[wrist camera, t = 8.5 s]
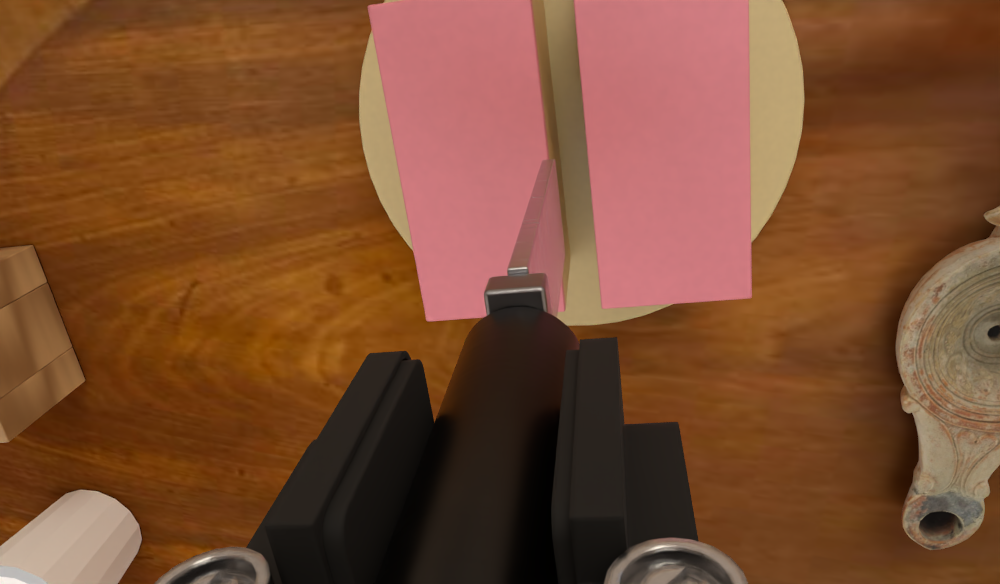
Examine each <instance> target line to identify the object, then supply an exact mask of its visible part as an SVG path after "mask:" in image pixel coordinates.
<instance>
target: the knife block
mask: <svg viewBox="0 0 1000 584" xmlns="http://www.w3.org/2000/svg"><path fill="white" fill-rule="evenodd" d="M46 282H47V280H46V277H45V275H44V272H43V270H42V267H41V264H40V262H39V259H38V257H37V254H36V251H35V249H34V246H33V245H26V246H16V247H6V248H0V443H3V442H9V441H11V440H12V439H13V438H14V437H16V436H17V435H18V434H19V433H21V432H22V431H23V430H24V429H26V428H27V427H28V426H29V425H31V424H32V423H33V422H34V421H36V420H37V419H38V418H39V417H41V416H42V415H43V414H44V413H46V412H47V411H48V410H49V409H51V408H52V407H53V406H54V405H56V404H57V403H58V402H59V401H61V400H62V399H63V398H64V397H66V396H67V395H68V394H69V393H71V392H72V391H73V390H74V389H76V388H77V387H78V386H79V385H81V384H82V383H83V382H84V381H85V378H84V375H83V373H82V370H81V368H80V365H79V362H78V360H77V357H76V355H75V352H74V349H73V348H71V347H72V344H71V342H70V339H69V337H68V334H67V331H66V329H65V326H64V324H63V321H62V319H61V316H60V313H59V311H58V308H57V306H56V303H55V300H54V298H53V295H52V293H51V290H50V288H49V285H48V283H46Z"/></svg>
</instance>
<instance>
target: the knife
mask: <svg viewBox="0 0 1000 584" xmlns="http://www.w3.org/2000/svg"><path fill="white" fill-rule="evenodd" d="M564 261H565V246H564V237H563V227H562V218H561V208H560V199H559V189H558V180H557V170H556V161H555V159H549V160H543V161H542V163H541V166H540V169H539V172H538V175H537V178H536V182H535V185H534V188H533V191H532V194H531V197H530V200H529V203H528V206H527V209H526V213H525V216H524V219H523V222H522V225H521V228H520V231H519V234H518V237H517V241H516V244H515V247H514V250H513V253H512V256H511V259H510V262H509V265H508V268H507V274H508V276H496V277H491V278H489V281H488V283H487V286H486V289H485V292H484V301H485V307H486V314H487V316H486V317H484V318H483V319H482V320H480V321H479V322H478V323H477V324H476V325H475V326H474V327H473V328H472V330H471V331H470V332H469V334H468V336H467V338H466V340H465V343H464V346H463V348H462V351H461V354H460V356H459V359H458V362H457V364H456V367H455V370H454V372H453V375H452V378H451V380H450V383H449V386H448V388H447V391H446V394H445V396H444V399H443V402H442V404H441V407H440V410H439V412H438V415H437V418H436V420H435V423H434V426H433V428H432V431H431V434H430V436H429V439H428V442H427V444H426V447H425V450H424V452H423V455H422V458H421V461H420V463H419V466H418V469H417V471H416V474H415V477H414V479H413V482H412V485H411V487H410V490H409V493H408V495H407V498H406V501H405V503H404V506H403V509H402V511H401V514H400V517H399V519H398V522H397V525H396V527H395V530H394V533H393V535H392V538H391V541H390V543H389V546H388V549H387V551H386V554H385V557H384V559H383V562H382V565H381V567H380V570H379V573H378V575H377V578H376V581H375V583H374V584H558V578H557V570H556V563H555V555H554V548H553V539H552V523H551V505H552V492H553V482H554V471H555V461H556V450H557V440H558V429H559V419H560V408H561V398H562V387H563V377H564V366H565V356H566V350H579V345H580V344H579V342H578V340H577V338H576V336H575V335H574V333H573V332H572V331H571V330H570V329H569V327H568V326H567V325H565V324H564V323H563V322H562V321H561V320H559V319H558V318H557V315H558V307H559V299H560V291H561V284H562V276H563V268H564Z"/></svg>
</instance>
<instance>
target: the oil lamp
mask: <svg viewBox="0 0 1000 584" xmlns="http://www.w3.org/2000/svg"><path fill="white" fill-rule="evenodd" d="M984 217H985V219H986V220H987V221H988V222H990V223H992V224H994V225H996V227H995V228H994V230H993V232H992V233H991V235H990V237H988V238H987V239H984V240H979V241H976V242H972V243H969V244H967V245H965V246H963V247H961V248H958V249H956V250H955V251H953V252H951V253H950V254H948V255H947V256H945V257H944V258H943V259H941V260H940V261H939V262H937V263H936V264H935V265H934V266H933V267H932V268H931V269H930V270H929V271H928V272H927V273H926V274H925V275H924V276H923V277H922V278H921V279H920V281H919V282H918V283H917V284H916V286H915V287H914V288H913V290H912V292H911V293H910V295H909V297H908V299H907V301H906V303H905V305H904V308H903V310H902V313H901V316H900V320H899V323H898V330H897V338H896V348H895V349H896V359H897V365H898V369H899V373H900V375H901V378H902V381H903V383H904V386H903V388H902V390H901V393H900V399H901V404H902V408H903V410H904V411H905V412H907V413H912V414H913V416H914V420H915V424H916V428H917V433H918V443H919V461H918V463H917V465H916V467H915V469H914V472H913V482H912V485H911V487H910V489H909V492H908V494H907V497H906V499H905V502H904V505H903V509H902V515H901V519H902V526H903V528H904V530H905V532H906V533H907V535H908V536H909V537H910V538H911V539H912V540H913V541H915V542H917V543H918V544H920V545H921V546H923V547H924V548H927V549H929V550H936V549H944V548H947V547H951V546H953V545H956V544H958V543H960V542H962V541H964V540H966V539H968V538H969V537H970V536H971V535H972V534H973V533H974V532H975V531H976V530H977V529H978V528H979V526H980V525H981V523H982V521H983V517H984V511H985V506H984V498H985V497H987V496H988V495H989V493H990V488H989V484H988V481H987V480H988V479H989V477H990V476H991V474H992V473H993V472H994V471H995V469H996V468H997V467H998V466H999V465H1000V206H998V207H997V208H995V209H993V210H991V211H987V212H986V213H984Z"/></svg>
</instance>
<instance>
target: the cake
mask: <svg viewBox="0 0 1000 584" xmlns="http://www.w3.org/2000/svg"><path fill="white" fill-rule="evenodd" d="M368 12H369V17H370V23H371V28H372V31H371V34H370V36H369V40H368V44H367V48H366V52H365V57H364V61H363V65H362V73H361V81H360V90H359V123H360V130H361V137H362V145H363V151H364V155H365V158H366V162H367V166H368V170H369V173H370V177H371V179H372V182H373V184H374V187H375V189H376V192H377V194H378V197H379V199H380V202H381V203H382V205H383V207H384V209H385V211H386V212H387V214H388V216H389V218H390V220H391V221H392V223H393V225H394V226H395V228H396V229H397V231H398V232H399V233H400V235H401V236H402V237H403V239H404V240H405V242H406V243H407V244H408V246H409V247H410V248H411V249H412V250H413V252H414V257H415V262H416V268H417V273H418V278H419V284H420V289H421V294H422V299H423V305H424V310H425V315H426V320H427V321H442V320H456V319H469V318H483V317H486V316H487V314H486V307H485V301H484V292H485V289H486V286H487V283H488V281H489V278H491V277H496V276H508V274H507V268H508V265H509V262H510V259H511V256H512V253H513V250H514V247H515V244H516V241H517V237H518V234H519V231H520V228H521V225H522V222H523V219H524V216H525V213H526V209H527V206H528V203H529V200H530V197H531V194H532V191H533V188H534V185H535V182H536V178H537V175H538V172H539V169H540V166H541V163H542V161H543V160H549V159H555V161H556V170H557V180H558V189H559V199H560V208H561V218H562V227H563V237H564V246H565V261H564V268H563V276H562V284H561V291H560V299H559V307H558V315H557V318H558V319H559V320H561V321H562V322H563V323H564V324H565V325H598V324H605V323H613V322H620V321H624V320H628V319H632V318H636V317H640V316H644V315H647V314H649V313H652V312H654V311H657V310H660V309H662V308H665V307H667V306H670V305H672V304H678V303H692V302H706V301H720V300H733V299H747V298H751V297H752V267H751V243H752V242H753V240H754V239H755V238H756V237H757V235H758V234H759V232H760V231H761V229H762V228H763V227H764V225H765V224H766V222H767V221H768V219H769V218H770V216H771V215H772V213H773V211H774V209H775V207H776V205H777V203H778V202H779V200H780V198H781V196H782V194H783V192H784V190H785V188H786V185H787V182H788V180H789V177H790V174H791V171H792V168H793V166H794V163H795V160H796V156H797V151H798V146H799V142H800V137H801V133H802V124H803V112H804V82H803V68H802V63H801V57H800V52H799V47H798V42H797V38H796V35H795V32H794V29H793V26H792V23H791V20H790V17H789V14H788V11H787V9H786V7H785V5H784V3H783V1H782V0H385V1H384V3H380V4H374V5H369V6H368Z"/></svg>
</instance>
